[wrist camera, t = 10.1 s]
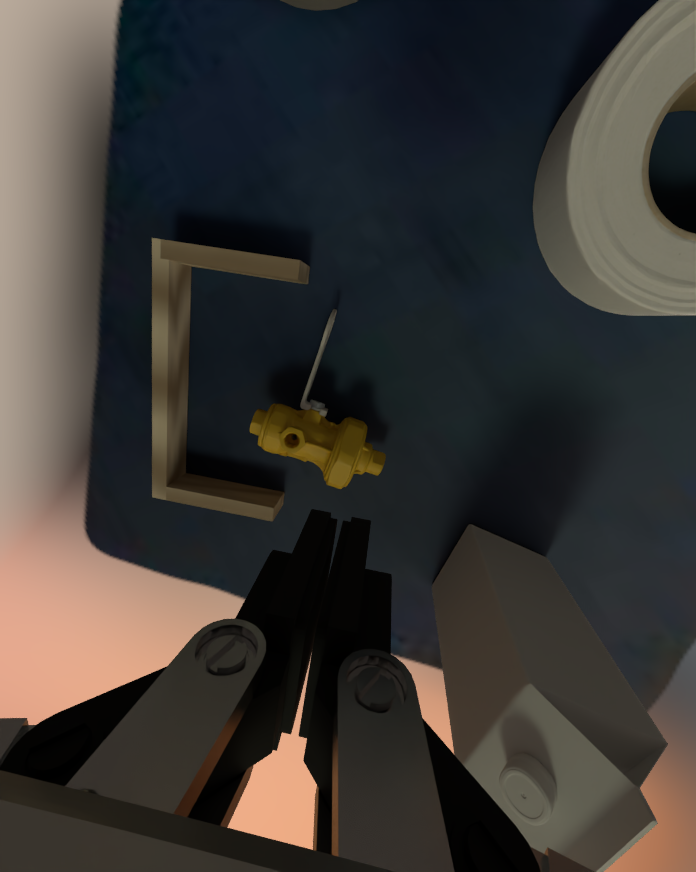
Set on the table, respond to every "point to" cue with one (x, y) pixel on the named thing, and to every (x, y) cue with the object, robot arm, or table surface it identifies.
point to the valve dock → (174, 366)
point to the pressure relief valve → (318, 435)
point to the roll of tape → (621, 175)
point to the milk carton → (541, 704)
